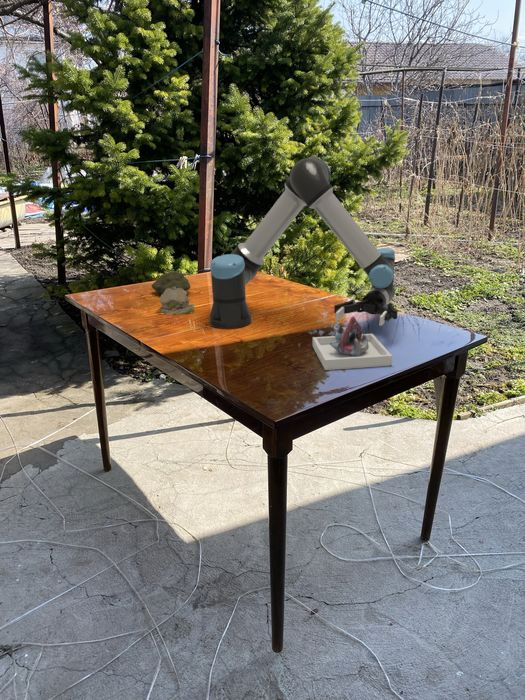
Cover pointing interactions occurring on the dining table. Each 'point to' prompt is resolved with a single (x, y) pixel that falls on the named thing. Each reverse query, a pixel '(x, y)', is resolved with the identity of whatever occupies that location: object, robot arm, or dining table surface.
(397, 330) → the dining table surface
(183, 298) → the ceramic model
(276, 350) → the dining table surface
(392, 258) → the robot arm
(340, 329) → the brake caliper
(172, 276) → the decorative rock
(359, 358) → the tray
